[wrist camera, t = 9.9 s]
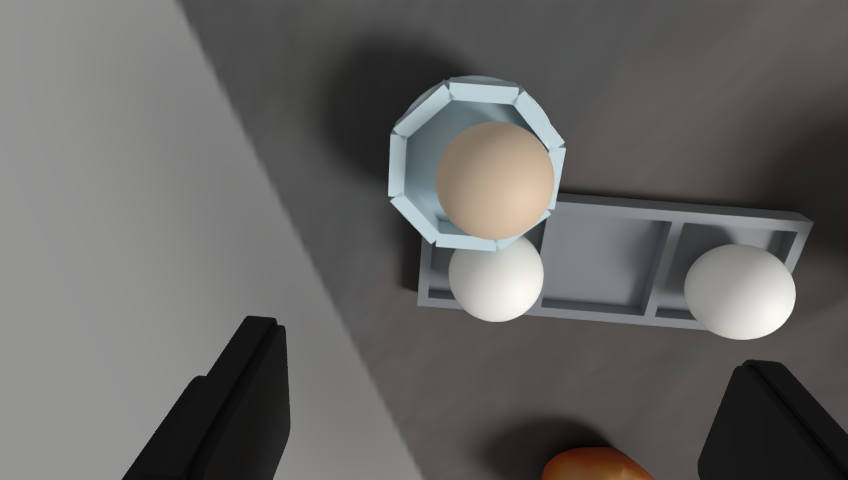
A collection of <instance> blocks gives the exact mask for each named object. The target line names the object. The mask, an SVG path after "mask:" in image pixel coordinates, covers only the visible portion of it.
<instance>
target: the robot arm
mask: <svg viewBox="0 0 848 480" xmlns="http://www.w3.org/2000/svg"><path fill="white" fill-rule="evenodd" d="M289 432H290V405H289V386H288V366H287V347H286V330H285V327H284V326H282V325H277V321H276V319H275V318H271V317H258V316H247V317H246V318H245V319H244V320H243V322H242V323H241V325H240V326H239V328H238V329H237V331H236V332H235V334H234V335H233V337H232V338H231V340H230V341H229V343H228V344H227V346H226V347H225V349H224V350H223V352H222V353H221V355H220V356H219V358H218V359H217V361H216V362H215V364H214V365H213V367H212V369H211V370H210V371H209V373H208V374H207V376H197V377H195V378H194V379H193V380H192V381H191V382H190V383H189V384H188V386H187V387H186V389H185V390H184V392H183V393H182V394H181V396H180V397H179V399H178V400H177V401H176V403H175V404H174V406H173V407H172V409H171V410H170V411H169V413H168V415H167V416H166V417H165V419H164V420H163V422H162V423H161V424H160V426H159V427H158V429H157V430H156V431H155V433H154V434H153V436H152V437H151V439H150V440H149V442H148V443H147V444H146V446H145V447H144V449H143V450H142V451H141V453H140V454H139V456H138V457H137V458H136V460H135V462H134V463H133V464H132V466H131V467H130V468H129V470H128V471H127V473H126V474H125V476H124V477H123V478H122V480H273V477H274V475H275V472H276V469H277V466H278V464H279V461H280V459H281V456H282V454H283V451H284V449H285V446H286V443H287V441H288V437H289ZM698 474H699V477H700V480H848V434H847V433H846V432H845V431H844V430H843V429H842V428H841V427H840V426H839V425H838V424H837V422H836V421H835V420H834V419H833V418H832V417H831V416H830V415H829V414H828V413H827V412H826V410H825V409H824V408H823V407H822V406H821V405H820V404H819V403H818V402H817V401H816V400H815V398H814V397H813V396H812V395H811V394H810V393H809V392H808V391H807V390H806V389H805V388H804V386H803V385H802V384H801V383H800V382H799V381H798V380H797V379H796V378H795V377H794V376H793V374H792V373H791V372H790V371H789V370H788V369H787V368H786V367H785V366H784V365H783V364H781V363H779V362H773V361H762V360H746V361H745V362H744V363H743V364H742V366H737V367H736V368H735V370H734V371H733V374H732V376H731V379H730V381H729V384H728V386H727V389H726V391H725V394H724V396H723V399H722V401H721V404H720V407H719V409H718V412H717V414H716V417H715V419H714V422H713V424H712V427H711V429H710V432H709V434H708V437H707V439H706V442H705V444H704V447H703V450H702V452H701V455H700V457H699V460H698Z"/></svg>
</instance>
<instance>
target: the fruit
mask: <svg viewBox="0 0 848 480" xmlns="http://www.w3.org/2000/svg"><path fill="white" fill-rule="evenodd" d="M541 480H654V479H653V477H652V476H651V475H650V474H649V473H648V472H647V471H646V470H645V469H644V468H642V467H641V466H640V465H639V464H637V463H636V462H635V461H633V460H632V459H631V458H629V457H628V456H627V455H626V454H624V453H623V452H621V451H619V450H618V449H615V448H612V447H580V448H574V449H571V450H568V451H565V452H562V453H560V454H558V455H556V456H554V457H553V458H552V459H551V460H550V461H549V462H548V463H547V464H546V465H545V467H544V470H543V474H542V479H541Z"/></svg>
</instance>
